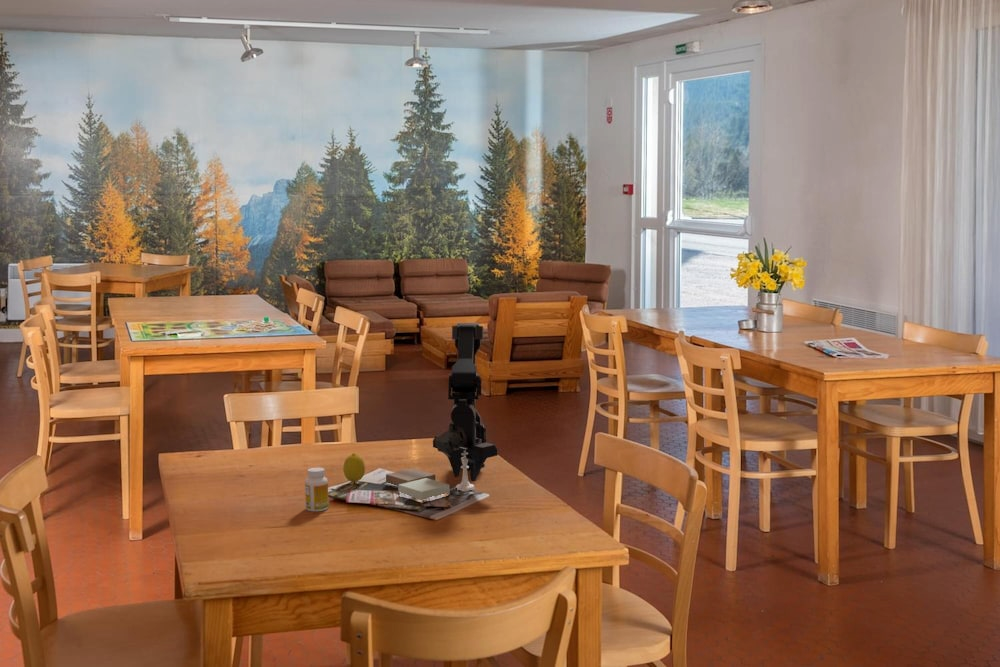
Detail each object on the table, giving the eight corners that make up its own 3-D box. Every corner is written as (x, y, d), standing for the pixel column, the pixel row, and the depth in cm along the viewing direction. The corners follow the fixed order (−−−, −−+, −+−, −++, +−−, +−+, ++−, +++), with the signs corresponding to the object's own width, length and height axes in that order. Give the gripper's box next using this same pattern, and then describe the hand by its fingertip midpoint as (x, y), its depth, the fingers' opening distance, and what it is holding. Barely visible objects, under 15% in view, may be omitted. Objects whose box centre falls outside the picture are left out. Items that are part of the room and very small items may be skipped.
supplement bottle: (332, 506, 267) (331, 467, 266) (322, 512, 262) (321, 472, 260) (311, 504, 268) (310, 465, 267) (302, 511, 263) (300, 471, 262)
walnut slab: (413, 479, 291) (412, 468, 291) (435, 485, 285) (435, 474, 284) (386, 485, 285) (385, 474, 285) (408, 492, 279) (408, 480, 278)
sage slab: (426, 489, 281) (425, 477, 281) (449, 496, 275) (449, 484, 275) (398, 496, 275) (398, 484, 275) (421, 503, 269) (421, 491, 268)
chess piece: (452, 487, 283) (452, 449, 282) (471, 485, 285) (470, 447, 284) (459, 492, 279) (458, 453, 278) (477, 490, 281) (477, 451, 279)
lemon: (354, 479, 291) (354, 449, 290) (369, 483, 288) (369, 453, 287) (339, 484, 287) (338, 453, 286) (354, 487, 283) (353, 457, 282)
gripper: (416, 418, 281) (417, 478, 283) (465, 429, 267) (466, 492, 269) (449, 411, 288) (449, 470, 290) (498, 422, 275) (499, 483, 277)
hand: (465, 479), depth 282 cm, fingers open, 6 cm apart
